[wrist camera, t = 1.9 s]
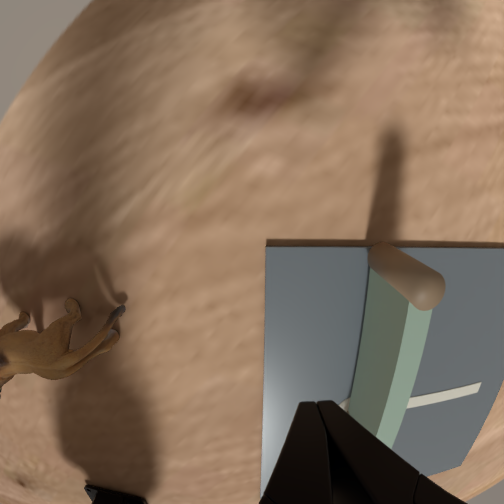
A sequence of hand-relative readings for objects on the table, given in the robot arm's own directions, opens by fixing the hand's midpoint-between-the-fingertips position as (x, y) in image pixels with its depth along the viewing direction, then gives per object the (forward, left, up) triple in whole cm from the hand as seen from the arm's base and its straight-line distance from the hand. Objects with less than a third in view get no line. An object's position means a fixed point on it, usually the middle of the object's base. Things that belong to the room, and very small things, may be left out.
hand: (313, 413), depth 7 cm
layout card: (-9, -9, -10) cm, 16 cm away
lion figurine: (-3, +14, -10) cm, 18 cm away
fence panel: (-9, -5, -10) cm, 14 cm away
